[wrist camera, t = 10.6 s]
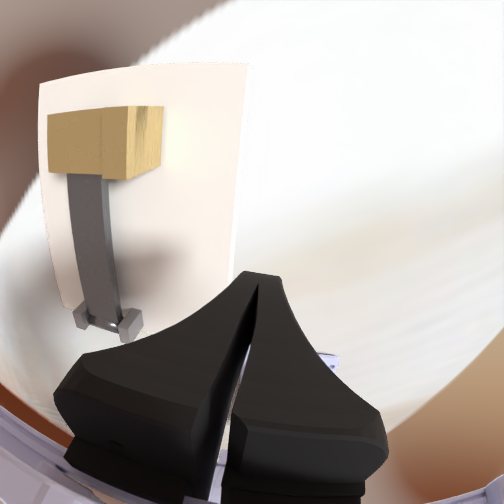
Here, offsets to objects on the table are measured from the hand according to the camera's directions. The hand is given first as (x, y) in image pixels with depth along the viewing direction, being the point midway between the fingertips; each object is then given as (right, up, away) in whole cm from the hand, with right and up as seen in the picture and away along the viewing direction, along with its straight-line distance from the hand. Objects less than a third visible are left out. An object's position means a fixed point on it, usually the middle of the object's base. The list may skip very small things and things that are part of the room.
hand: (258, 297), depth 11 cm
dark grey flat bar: (-11, +3, +8) cm, 14 cm away
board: (-9, +5, +10) cm, 14 cm away
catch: (-9, +9, +6) cm, 14 cm away
